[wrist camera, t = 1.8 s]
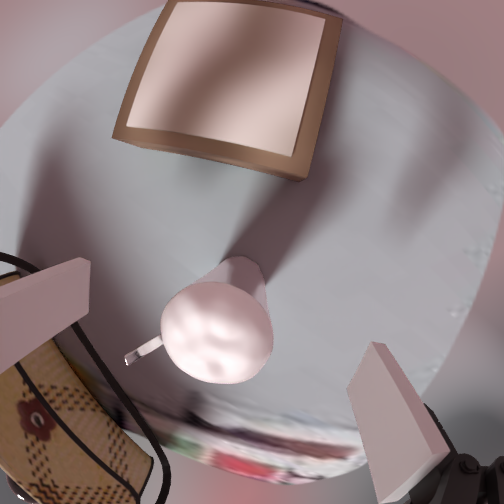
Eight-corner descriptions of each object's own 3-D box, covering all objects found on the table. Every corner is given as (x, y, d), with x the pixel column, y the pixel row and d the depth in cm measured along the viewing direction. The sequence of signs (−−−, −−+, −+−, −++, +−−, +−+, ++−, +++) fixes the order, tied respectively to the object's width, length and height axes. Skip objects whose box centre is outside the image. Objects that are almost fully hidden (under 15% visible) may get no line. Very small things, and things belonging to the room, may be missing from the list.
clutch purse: (195, 461, 23) (163, 568, 8) (152, 465, 24) (114, 553, 9) (31, 225, 19) (-99, 258, 4) (5, 258, 20) (-97, 297, 5)
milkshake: (189, 249, 18) (108, 303, 8) (270, 242, 18) (267, 298, 8) (199, 312, 19) (142, 405, 9) (275, 308, 18) (276, 412, 9)
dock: (141, 147, 17) (108, 137, 13) (185, 26, 15) (167, -5, 11) (299, 182, 17) (307, 176, 12) (331, 48, 14) (343, 16, 10)
